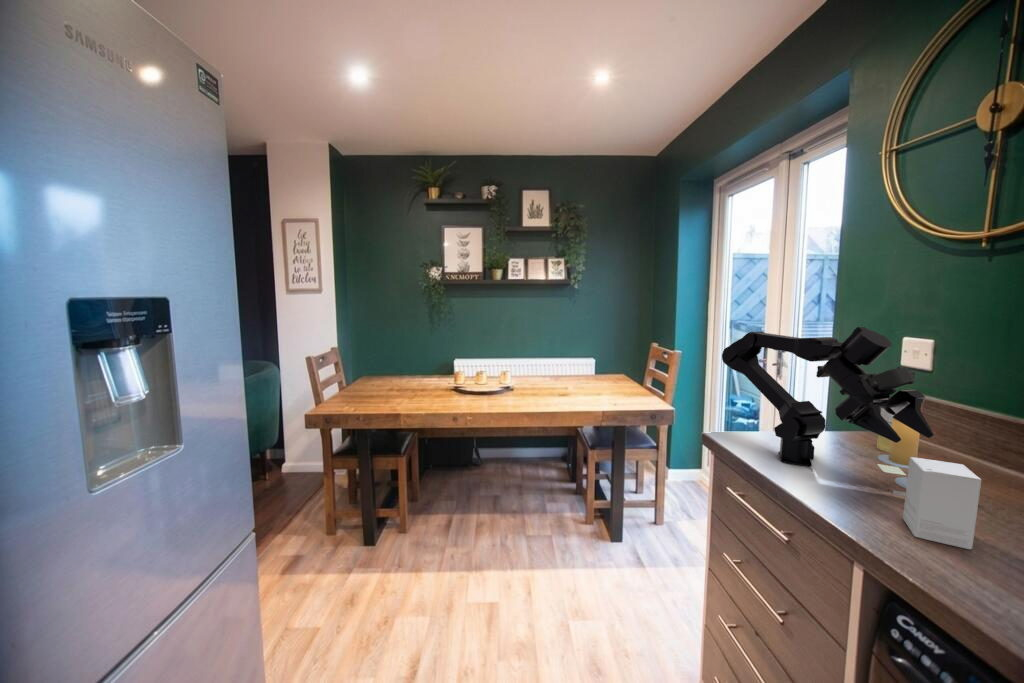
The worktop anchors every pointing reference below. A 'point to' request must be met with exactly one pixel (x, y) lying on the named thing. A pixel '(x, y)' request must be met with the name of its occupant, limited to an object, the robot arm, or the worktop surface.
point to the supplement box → (941, 502)
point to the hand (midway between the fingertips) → (915, 439)
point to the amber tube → (903, 444)
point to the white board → (895, 470)
